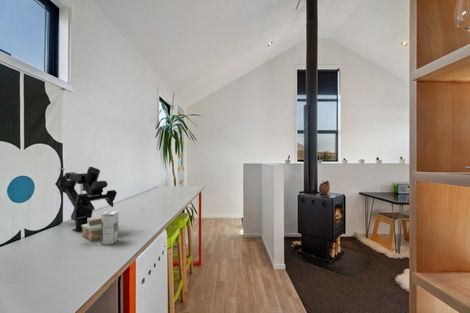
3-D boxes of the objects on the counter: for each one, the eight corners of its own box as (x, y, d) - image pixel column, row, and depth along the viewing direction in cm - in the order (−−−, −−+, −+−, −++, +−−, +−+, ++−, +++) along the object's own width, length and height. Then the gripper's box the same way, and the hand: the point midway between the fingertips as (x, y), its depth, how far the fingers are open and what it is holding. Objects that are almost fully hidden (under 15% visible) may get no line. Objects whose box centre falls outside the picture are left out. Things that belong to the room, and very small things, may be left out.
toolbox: (82, 236, 122) (82, 227, 122) (100, 232, 130) (100, 223, 130) (92, 241, 115) (92, 231, 115) (111, 236, 122) (111, 227, 122)
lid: (81, 226, 122) (81, 220, 122) (100, 222, 130) (100, 216, 130) (92, 231, 115) (91, 224, 115) (111, 226, 122) (111, 219, 122)
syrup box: (106, 240, 116) (106, 211, 116) (118, 240, 117) (118, 210, 117) (100, 244, 111) (100, 213, 111) (113, 244, 111) (113, 213, 111)
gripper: (75, 178, 117) (87, 198, 109) (113, 175, 132) (126, 192, 124) (70, 196, 120) (81, 216, 113) (107, 191, 135) (120, 209, 128)
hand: (103, 207), depth 119 cm, fingers open, 9 cm apart
